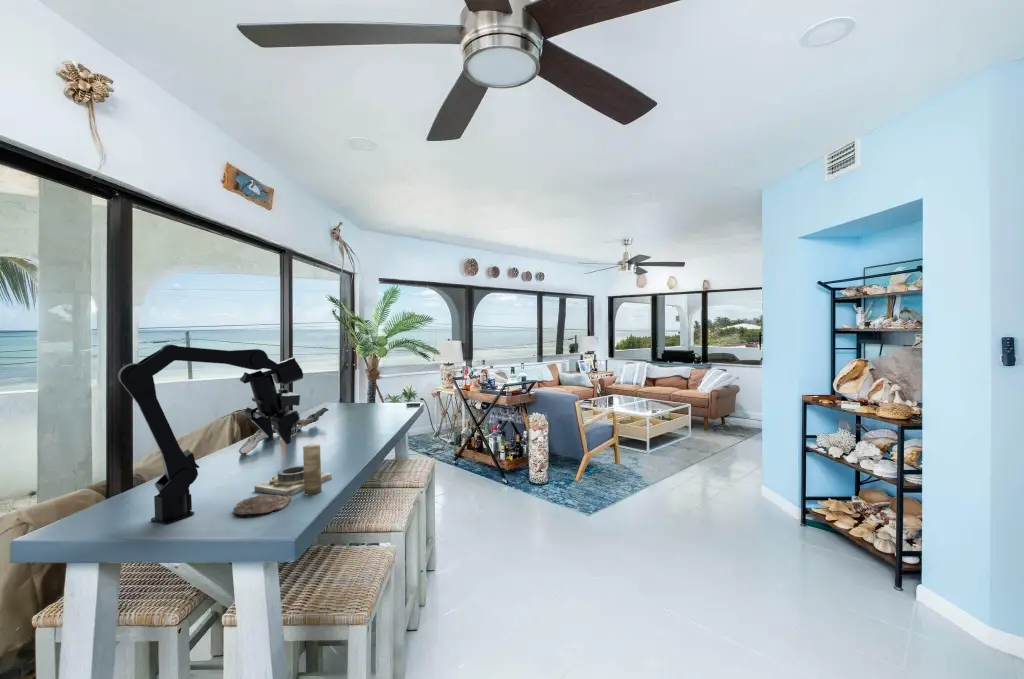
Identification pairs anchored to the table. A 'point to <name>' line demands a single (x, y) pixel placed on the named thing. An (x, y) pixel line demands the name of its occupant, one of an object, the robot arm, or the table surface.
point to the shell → (261, 505)
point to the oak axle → (312, 469)
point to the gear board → (286, 489)
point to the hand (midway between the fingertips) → (279, 440)
